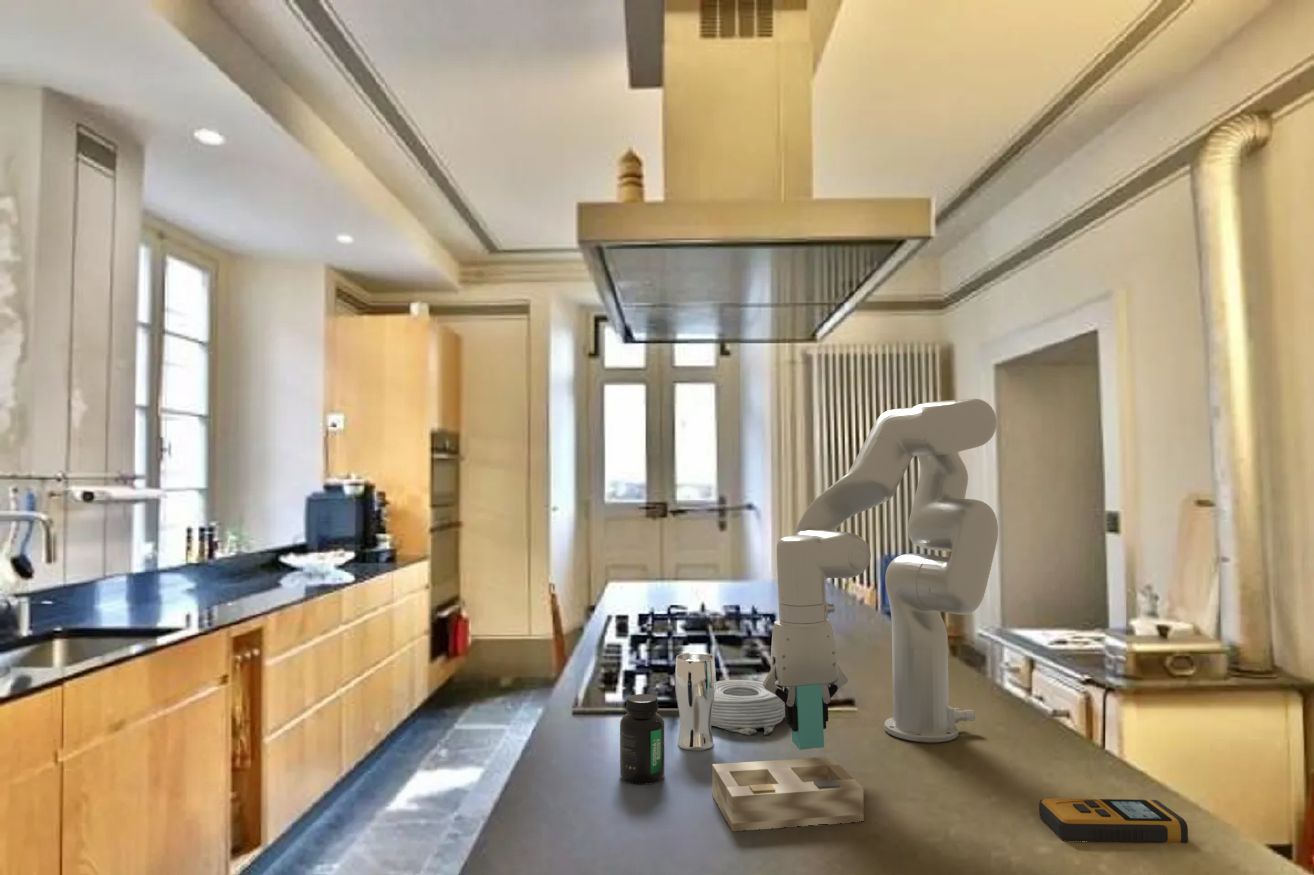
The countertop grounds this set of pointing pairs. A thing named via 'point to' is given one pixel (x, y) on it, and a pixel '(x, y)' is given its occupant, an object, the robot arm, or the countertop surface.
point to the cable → (746, 707)
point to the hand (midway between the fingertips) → (807, 726)
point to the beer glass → (695, 699)
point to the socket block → (786, 793)
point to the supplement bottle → (642, 741)
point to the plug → (809, 717)
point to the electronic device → (1113, 820)
